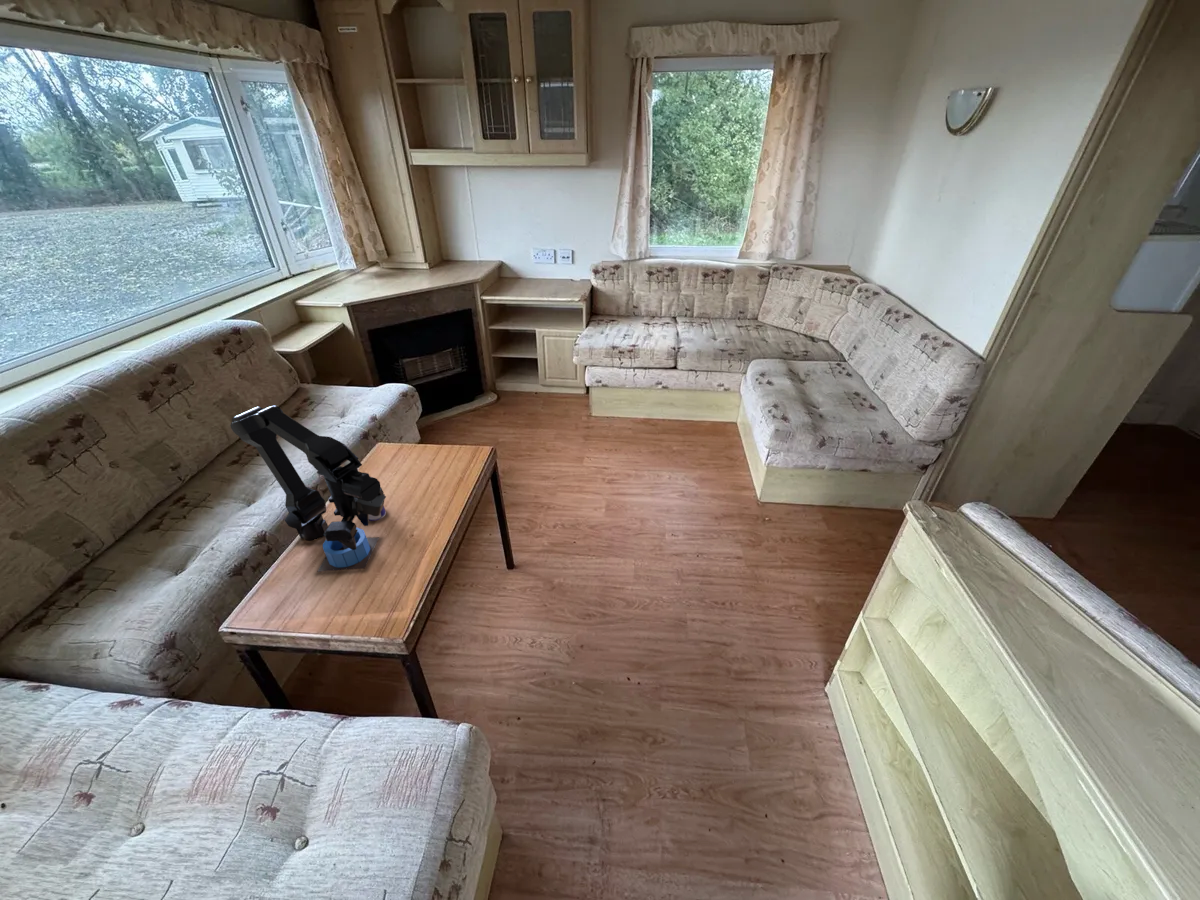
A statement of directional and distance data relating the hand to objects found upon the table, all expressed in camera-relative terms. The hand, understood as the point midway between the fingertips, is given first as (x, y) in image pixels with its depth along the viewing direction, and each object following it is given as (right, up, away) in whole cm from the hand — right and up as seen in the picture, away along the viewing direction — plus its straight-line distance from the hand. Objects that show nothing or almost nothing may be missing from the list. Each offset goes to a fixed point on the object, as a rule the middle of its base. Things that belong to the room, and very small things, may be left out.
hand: (360, 537), depth 126 cm
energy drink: (-3, +3, +17) cm, 17 cm away
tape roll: (-4, -5, +3) cm, 7 cm away
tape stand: (-4, -6, +3) cm, 8 cm away
